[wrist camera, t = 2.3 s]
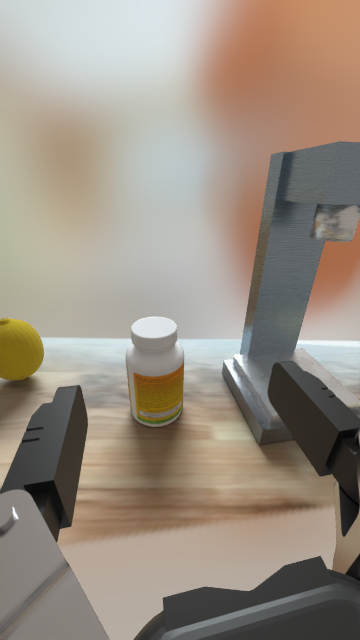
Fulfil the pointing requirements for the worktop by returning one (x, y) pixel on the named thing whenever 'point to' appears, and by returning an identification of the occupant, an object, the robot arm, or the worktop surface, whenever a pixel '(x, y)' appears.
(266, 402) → the arbor press
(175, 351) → the supplement bottle
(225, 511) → the worktop surface
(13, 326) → the lemon
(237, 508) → the worktop surface
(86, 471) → the worktop surface
